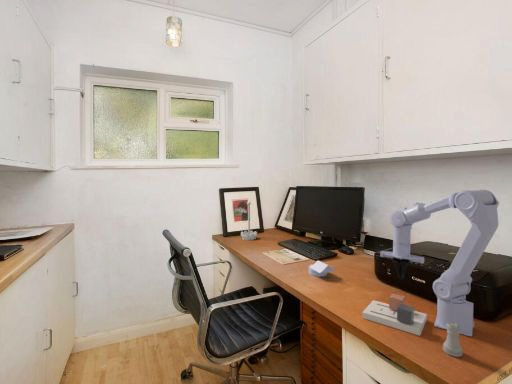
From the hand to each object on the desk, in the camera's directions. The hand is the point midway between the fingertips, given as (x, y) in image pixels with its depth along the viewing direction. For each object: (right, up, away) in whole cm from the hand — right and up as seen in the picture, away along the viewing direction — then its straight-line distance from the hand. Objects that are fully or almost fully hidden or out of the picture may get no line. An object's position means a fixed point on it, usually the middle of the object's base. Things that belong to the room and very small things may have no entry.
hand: (401, 278), depth 103 cm
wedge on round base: (-23, -9, +32) cm, 40 cm away
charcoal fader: (-8, -8, -17) cm, 20 cm away
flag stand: (-60, -5, +117) cm, 132 cm away
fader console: (-8, -10, -11) cm, 17 cm away
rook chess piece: (-2, -11, -29) cm, 31 cm away
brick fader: (-6, -7, -9) cm, 13 cm away
